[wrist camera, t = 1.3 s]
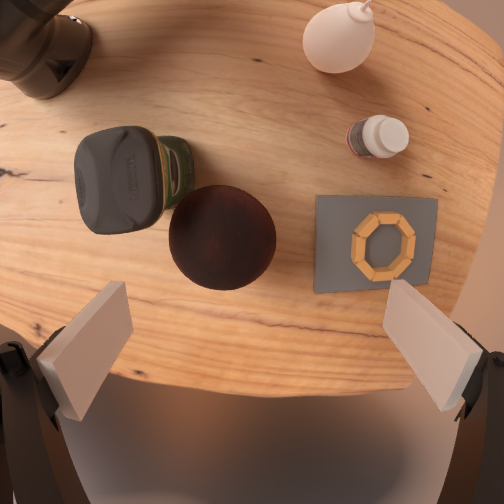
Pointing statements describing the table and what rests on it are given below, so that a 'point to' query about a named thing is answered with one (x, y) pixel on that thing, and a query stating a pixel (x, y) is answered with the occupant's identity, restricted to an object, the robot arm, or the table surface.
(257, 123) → the table surface
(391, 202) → the socket board
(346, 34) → the sauce bottle
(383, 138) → the pill bottle
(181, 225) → the decorative mushroom
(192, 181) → the coffee jar
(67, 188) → the table surface
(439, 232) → the table surface
